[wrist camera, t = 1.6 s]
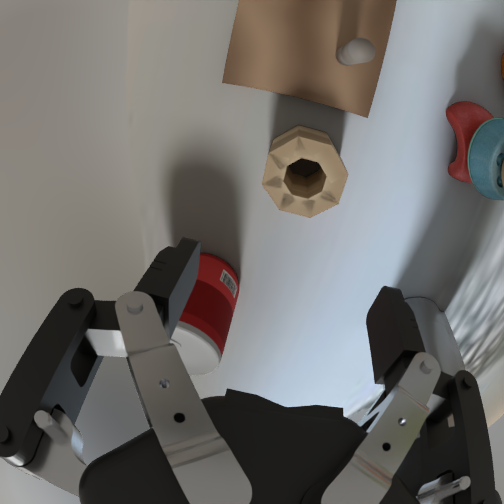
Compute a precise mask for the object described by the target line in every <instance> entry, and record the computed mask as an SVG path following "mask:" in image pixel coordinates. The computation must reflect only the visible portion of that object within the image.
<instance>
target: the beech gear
mask: <svg viewBox="0 0 504 504" xmlns="http://www.w3.org/2000/svg"><path fill="white" fill-rule="evenodd" d="M301 158H304V159H308V160H312V161H315V162H319V164H320V167H319V170H318V171H317V172H315V173H313V174H311V175H309V176H308V177H304V176H301V175H297V174H293V173H292V171H291V169H290V168H289V166H288V165H290V164H292V163H293V162H295V161H297V160H299V159H301ZM347 177H348V172H347V170H346V168H345V166H344V164H343V162H342V160H341V157H340V156H339V154H338V152H337V150H336V148H335V147H334V145H333V143H332V142H331V140H330V138H329V136H328V135H327V133H326V132H322V131H319V130H315V129H312V128H308V127H304V126H300V125H297V126H296V127H294V128H292V129H290V130H289V131H287V132H285V133H283V134H282V135H280V136H278V137H276V138H275V139H274V140H273V143H272V145H271V148H270V151H269V154H268V158H267V163H266V167H265V172H264V176H263V181H262V185H263V187H264V188H265V190H266V191H267V193H268V194H269V196H270V197H271V198H272V200H273V201H274V203H275V204H276V206H277V207H278V209H279V210H281V211H285V212H289V213H293V214H297V215H301V216H305V217H309V218H311V217H313V216H315V215H317V214H319V213H321V212H323V211H325V210H327V209H329V208H331V207H333V206H335V205H337V204H339V201H340V198H341V195H342V192H343V189H344V186H345V183H346V180H347Z"/></svg>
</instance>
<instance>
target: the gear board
mask: <svg viewBox="0 0 504 504" xmlns="http://www.w3.org/2000/svg"><path fill="white" fill-rule="evenodd" d="M396 1H397V0H239V3H238V7H237V12H236V16H235V21H234V25H233V30H232V35H231V40H230V45H229V49H228V55H227V60H226V65H225V70H224V75H223V81H222V83H227V84H233V85H239V86H245V87H251V88H256V89H261V90H266V91H271V92H276V93H281V94H285V95H289V96H294V97H298V98H302V99H306V100H310V101H313V102H317V103H321V104H324V105H328V106H331V107H335V108H338V109H341V110H345V111H348V112H351V113H354V114H357V115H360V116H363V117H366V118H368V115H369V112H370V108H371V105H372V101H373V97H374V94H375V90H376V87H377V83H378V79H379V75H380V71H381V67H382V63H383V59H384V55H385V51H386V47H387V43H388V39H389V34H390V30H391V25H392V21H393V16H394V11H395V6H396Z"/></svg>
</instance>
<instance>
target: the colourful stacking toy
mask: <svg viewBox="0 0 504 504" xmlns="http://www.w3.org/2000/svg"><path fill="white" fill-rule="evenodd" d="M501 69H502V76H503V80H504V53H503V56H502V61H501ZM446 116H447V119H448V121H449V123H450V124H451V126H452V127H453V129H454V131H455V134H456V138H457V157H456V159H455V161H454V162H453V163H450V165H449V167H448V172H449V175H451V176H452V177H454V178H456V179H458V180H460V181H463V182H467V183H473V185H474V186H475V188H476V189H477V190H478V191H479V192H480V193H481V194H482V195H484V196H485V197H488V198H490V199H495V200H504V119H503V118H494V117H493V116H492V115H491V114H490V113H489V112H488V111H487V110H486V109H484V108H483V107H481V106H480V105H478V104H475V103H472V102H467V101H462V102H457V103H455V104H452V105H451V106H449V107H448V108H447V109H446Z"/></svg>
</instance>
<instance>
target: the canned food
mask: <svg viewBox="0 0 504 504" xmlns="http://www.w3.org/2000/svg"><path fill="white" fill-rule="evenodd" d="M238 294H239V284H238V278H237V276H236V273H235V272H234V270H233V269H232V268H231V266H230V265H229V264H228V263H226V262H225V261H224V260H222V259H220V258H218V257H216V256H214V255H211V254H206V253H200V258H199V269H198V275H197V279H196V282H195V285H194V287H193V289H192V292H191V294H190V296H189V298H188V301H187V303H186V305H185V307H184V310H183V312H182V314H181V316H180V319H179V321H178V323H177V326H176V328H175V330H174V333H173V335H172V337H171V340H170V341H169V342H170V343H171V344H172V343H173V344H174V345H175V346H176V348H177V350H178V352H179V354H180V357H181V359H182V361H183V363H184V365H185V368H186V370H187V372H188V374H189V375H196V376H199V375H206V374H210V373H212V372H214V371H215V370H216V369H217V368H218V365H219V363H220V361H221V358H222V354H223V351H224V347H225V343H226V340H227V336H228V332H229V328H230V324H231V321H232V317H233V313H234V309H235V305H236V301H237V298H238Z"/></svg>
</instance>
